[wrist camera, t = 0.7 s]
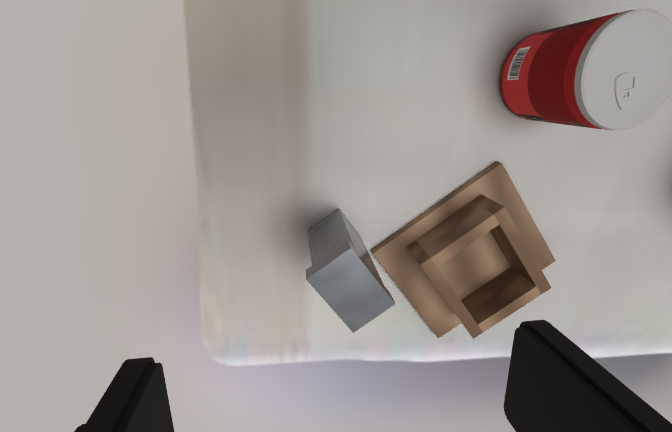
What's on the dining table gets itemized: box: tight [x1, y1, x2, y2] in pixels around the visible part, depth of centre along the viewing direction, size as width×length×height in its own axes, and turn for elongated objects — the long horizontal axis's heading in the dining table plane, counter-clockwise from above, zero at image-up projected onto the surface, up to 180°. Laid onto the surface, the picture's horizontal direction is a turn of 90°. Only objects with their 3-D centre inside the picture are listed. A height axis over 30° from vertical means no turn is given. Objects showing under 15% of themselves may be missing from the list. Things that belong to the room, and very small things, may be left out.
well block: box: [371, 161, 555, 339], centre depth 39 cm, size 16×14×6 cm
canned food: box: [500, 9, 672, 130], centre depth 31 cm, size 8×8×11 cm
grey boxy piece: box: [306, 208, 395, 333], centre depth 33 cm, size 4×6×12 cm, turn 36°
